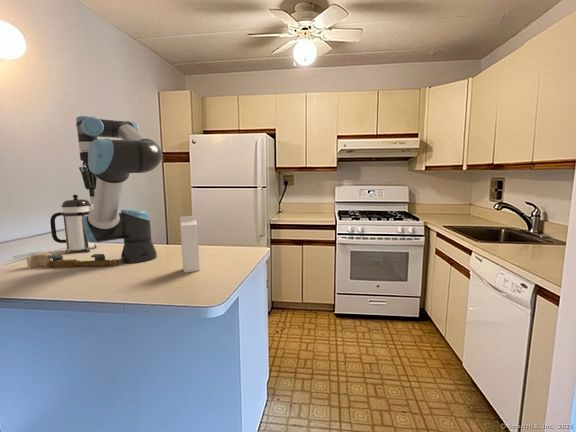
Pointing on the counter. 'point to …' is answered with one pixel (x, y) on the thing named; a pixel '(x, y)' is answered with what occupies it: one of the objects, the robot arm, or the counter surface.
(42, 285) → the counter surface
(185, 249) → the milk
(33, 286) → the counter surface
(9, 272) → the counter surface
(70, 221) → the coffee press
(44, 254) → the board
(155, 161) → the robot arm
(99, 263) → the tap handle
